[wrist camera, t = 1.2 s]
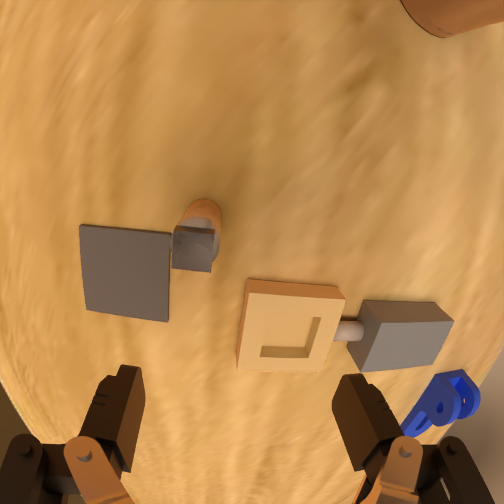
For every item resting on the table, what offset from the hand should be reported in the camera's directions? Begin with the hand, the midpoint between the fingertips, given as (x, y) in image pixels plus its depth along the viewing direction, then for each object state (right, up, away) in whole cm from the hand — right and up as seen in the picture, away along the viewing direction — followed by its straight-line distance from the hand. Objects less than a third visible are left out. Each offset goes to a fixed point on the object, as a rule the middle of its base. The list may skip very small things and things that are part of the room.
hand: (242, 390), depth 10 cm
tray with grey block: (+12, -3, +23) cm, 26 cm away
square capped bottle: (-4, +9, +17) cm, 20 cm away
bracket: (+35, -25, +33) cm, 54 cm away
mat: (-13, +3, +18) cm, 23 cm away
